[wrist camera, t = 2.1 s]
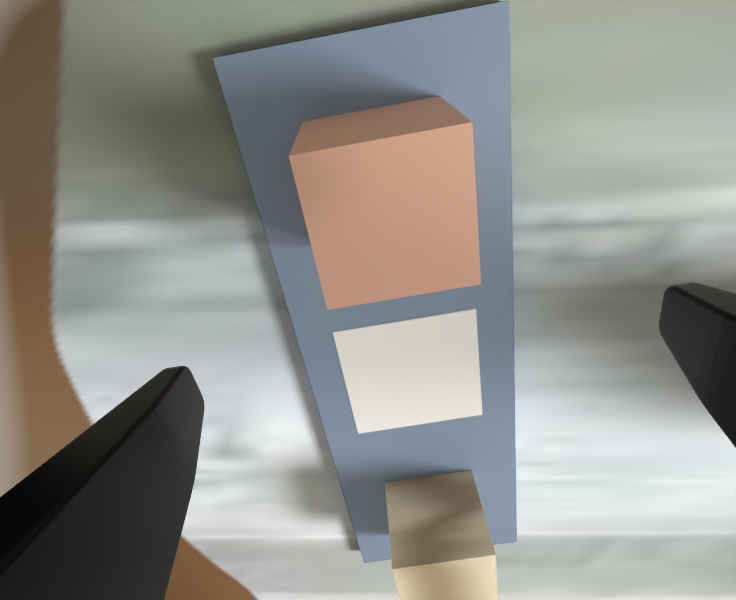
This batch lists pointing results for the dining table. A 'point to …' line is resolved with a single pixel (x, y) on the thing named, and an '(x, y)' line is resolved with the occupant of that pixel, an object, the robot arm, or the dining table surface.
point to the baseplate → (407, 314)
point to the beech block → (440, 539)
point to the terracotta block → (389, 201)
